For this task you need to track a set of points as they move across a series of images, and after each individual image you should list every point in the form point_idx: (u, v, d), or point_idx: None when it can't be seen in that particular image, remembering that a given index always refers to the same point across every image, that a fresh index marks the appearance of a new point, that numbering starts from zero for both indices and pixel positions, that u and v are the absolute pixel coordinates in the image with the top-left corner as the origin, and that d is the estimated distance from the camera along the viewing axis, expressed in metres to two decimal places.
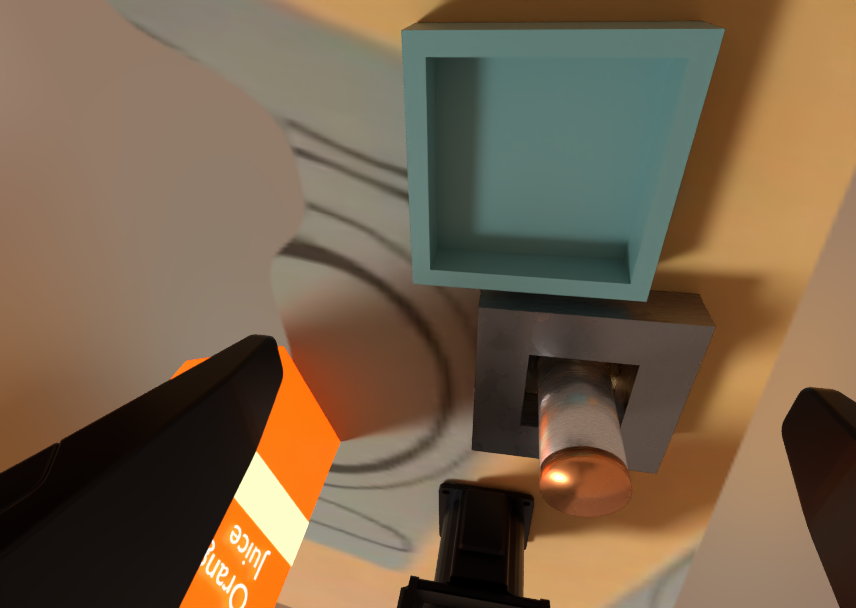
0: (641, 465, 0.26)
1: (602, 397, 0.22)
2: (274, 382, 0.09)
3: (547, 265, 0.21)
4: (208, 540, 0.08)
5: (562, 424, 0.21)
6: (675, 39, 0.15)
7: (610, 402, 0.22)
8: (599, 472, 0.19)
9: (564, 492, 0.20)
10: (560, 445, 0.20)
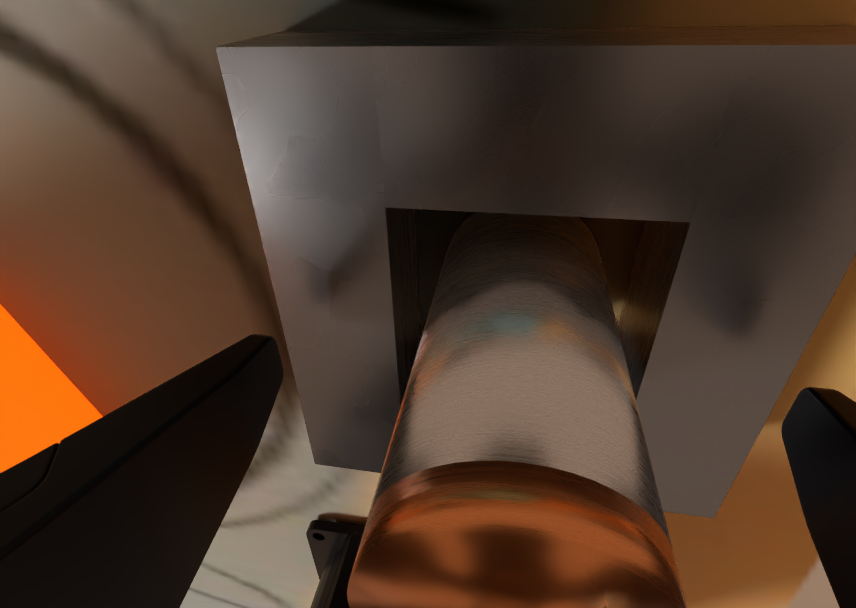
0: (679, 499, 0.11)
1: (582, 312, 0.07)
2: (274, 382, 0.09)
3: None
4: (209, 541, 0.08)
5: (445, 386, 0.06)
6: None
7: (606, 328, 0.07)
8: (557, 574, 0.04)
9: None
10: (420, 457, 0.05)
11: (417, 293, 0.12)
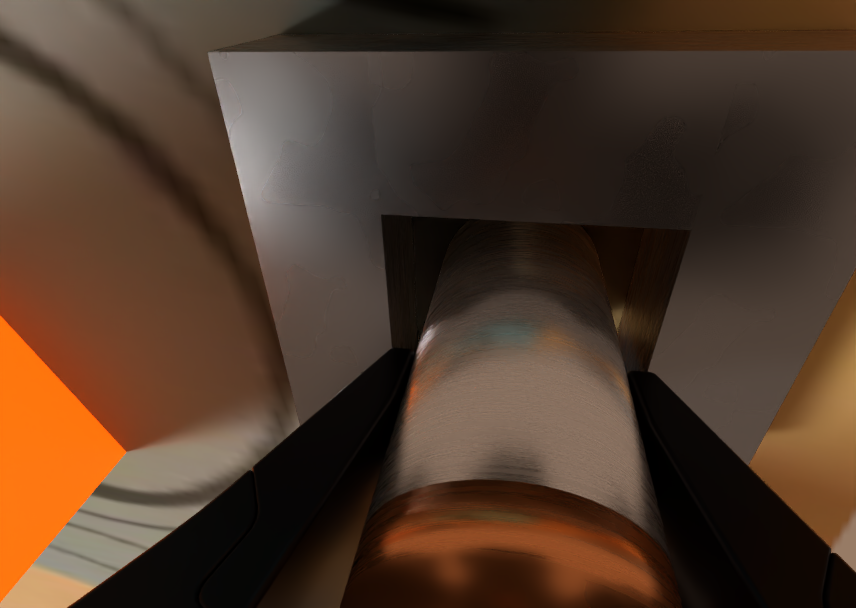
0: None
1: (581, 322, 0.07)
2: None
3: None
4: None
5: (440, 400, 0.06)
6: None
7: (606, 338, 0.07)
8: (555, 599, 0.04)
9: None
10: (414, 474, 0.05)
11: (414, 299, 0.12)
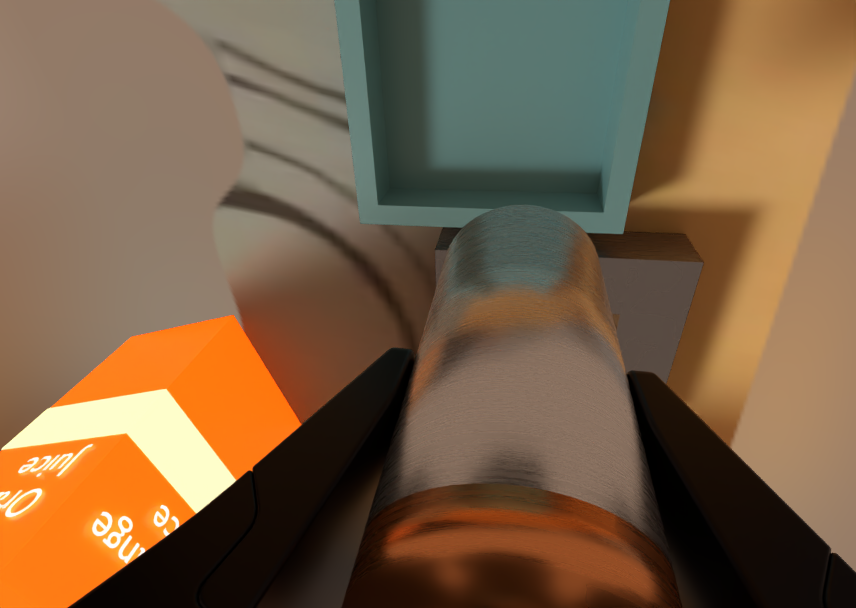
0: None
1: (581, 324, 0.07)
2: None
3: (511, 199, 0.19)
4: None
5: (440, 402, 0.06)
6: None
7: (606, 340, 0.07)
8: (556, 604, 0.04)
9: None
10: (415, 478, 0.05)
11: None
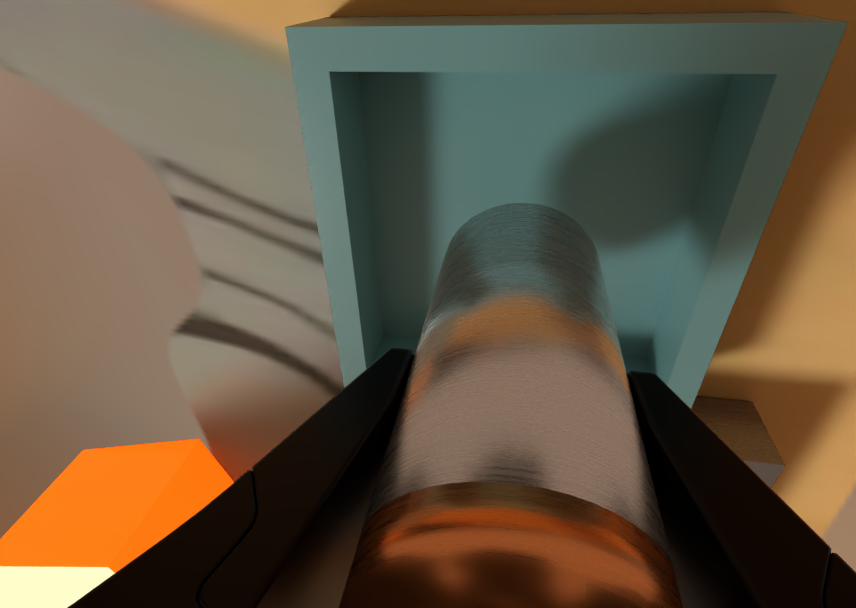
0: None
1: (581, 323, 0.07)
2: None
3: None
4: None
5: (440, 401, 0.06)
6: (754, 41, 0.08)
7: (606, 338, 0.07)
8: (555, 603, 0.04)
9: None
10: (413, 476, 0.05)
11: None
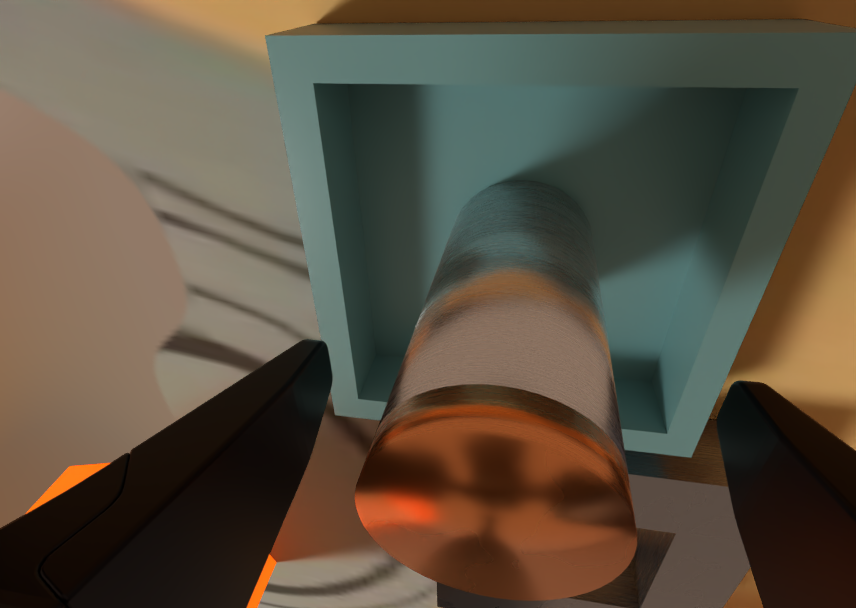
0: None
1: (564, 276, 0.08)
2: (325, 388, 0.09)
3: None
4: (268, 551, 0.08)
5: (441, 332, 0.07)
6: (775, 53, 0.08)
7: (587, 291, 0.08)
8: (524, 470, 0.05)
9: (429, 530, 0.07)
10: (417, 385, 0.06)
11: None
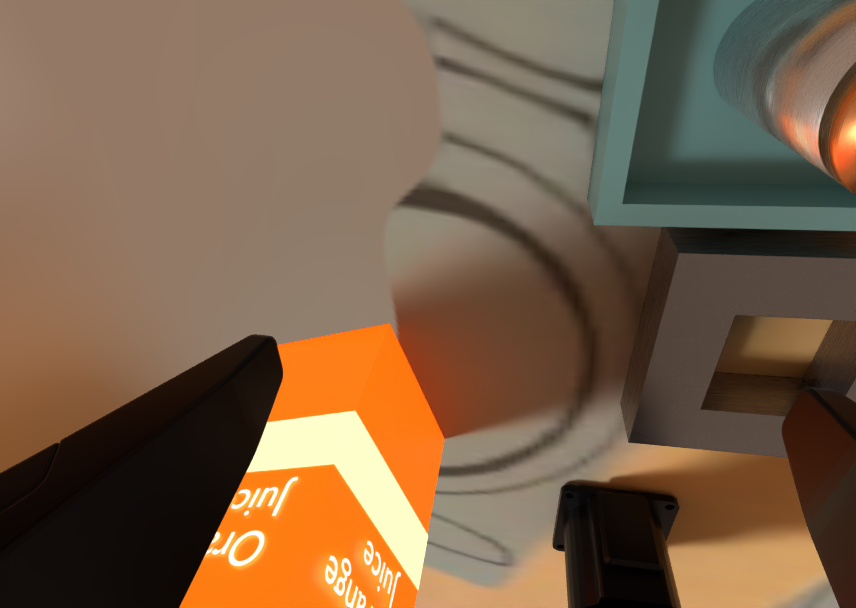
0: None
1: None
2: (274, 382, 0.09)
3: (774, 194, 0.16)
4: (209, 541, 0.08)
5: None
6: None
7: None
8: None
9: None
10: None
11: None
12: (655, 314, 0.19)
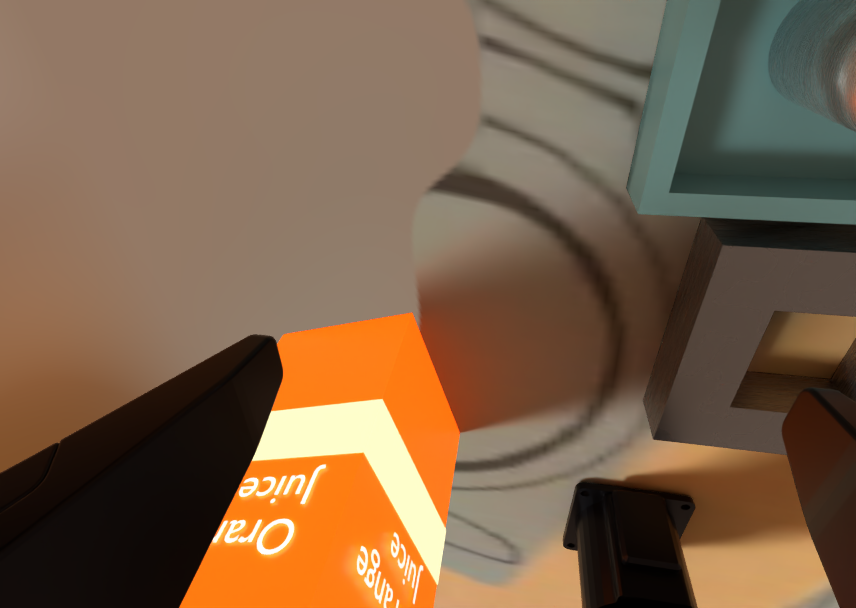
0: None
1: None
2: (274, 382, 0.09)
3: (822, 187, 0.16)
4: (209, 540, 0.08)
5: None
6: None
7: None
8: None
9: None
10: None
11: None
12: (690, 308, 0.19)
